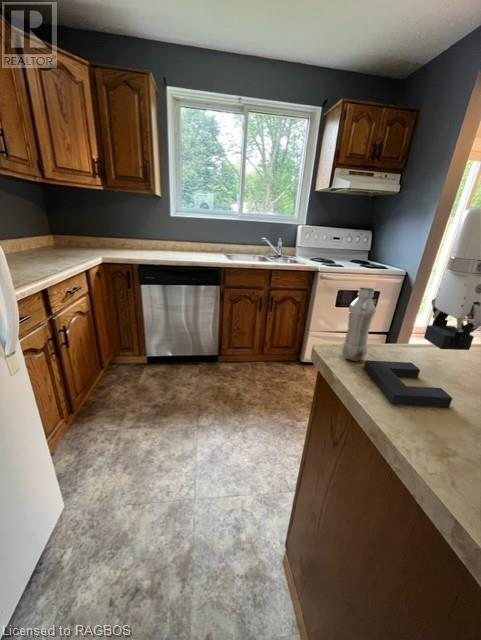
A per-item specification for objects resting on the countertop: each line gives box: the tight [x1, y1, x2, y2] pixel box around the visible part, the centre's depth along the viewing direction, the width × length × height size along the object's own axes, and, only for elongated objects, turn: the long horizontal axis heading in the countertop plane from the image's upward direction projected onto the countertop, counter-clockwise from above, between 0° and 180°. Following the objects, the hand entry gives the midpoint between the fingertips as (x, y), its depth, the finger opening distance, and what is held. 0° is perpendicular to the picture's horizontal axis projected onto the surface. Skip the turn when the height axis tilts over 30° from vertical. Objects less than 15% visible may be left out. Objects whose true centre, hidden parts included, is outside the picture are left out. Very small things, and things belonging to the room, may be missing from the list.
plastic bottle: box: [341, 287, 377, 362], centre depth 73 cm, size 6×7×20 cm
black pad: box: [423, 324, 475, 351], centre depth 66 cm, size 7×7×4 cm
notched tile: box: [363, 359, 453, 409], centre depth 64 cm, size 12×15×2 cm
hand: (446, 339), depth 66 cm, fingers closed on black pad, 6 cm apart
